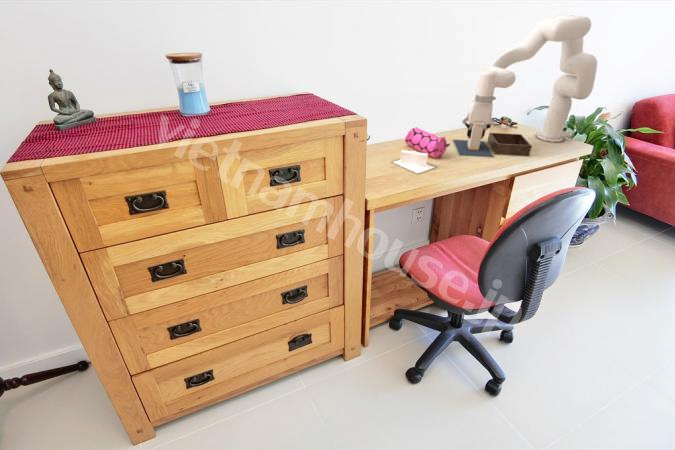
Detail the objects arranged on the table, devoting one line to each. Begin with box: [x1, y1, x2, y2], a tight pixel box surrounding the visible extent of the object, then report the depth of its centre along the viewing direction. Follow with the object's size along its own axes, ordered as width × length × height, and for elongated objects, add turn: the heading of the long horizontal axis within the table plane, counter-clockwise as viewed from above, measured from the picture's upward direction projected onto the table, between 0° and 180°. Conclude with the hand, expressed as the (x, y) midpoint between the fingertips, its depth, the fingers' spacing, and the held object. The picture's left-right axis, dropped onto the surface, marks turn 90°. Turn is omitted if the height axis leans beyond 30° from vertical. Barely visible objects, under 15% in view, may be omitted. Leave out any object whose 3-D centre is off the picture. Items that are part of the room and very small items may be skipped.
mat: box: [453, 139, 494, 158], centre depth 182 cm, size 15×20×1 cm
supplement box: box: [467, 122, 484, 151], centre depth 178 cm, size 8×5×13 cm, turn 168°
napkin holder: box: [392, 149, 435, 174], centre depth 162 cm, size 15×11×6 cm
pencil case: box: [404, 126, 451, 159], centre depth 175 cm, size 21×10×10 cm, turn 35°
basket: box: [486, 132, 533, 157], centre depth 181 cm, size 16×17×5 cm
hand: (475, 137), depth 179 cm, fingers closed on supplement box, 5 cm apart
